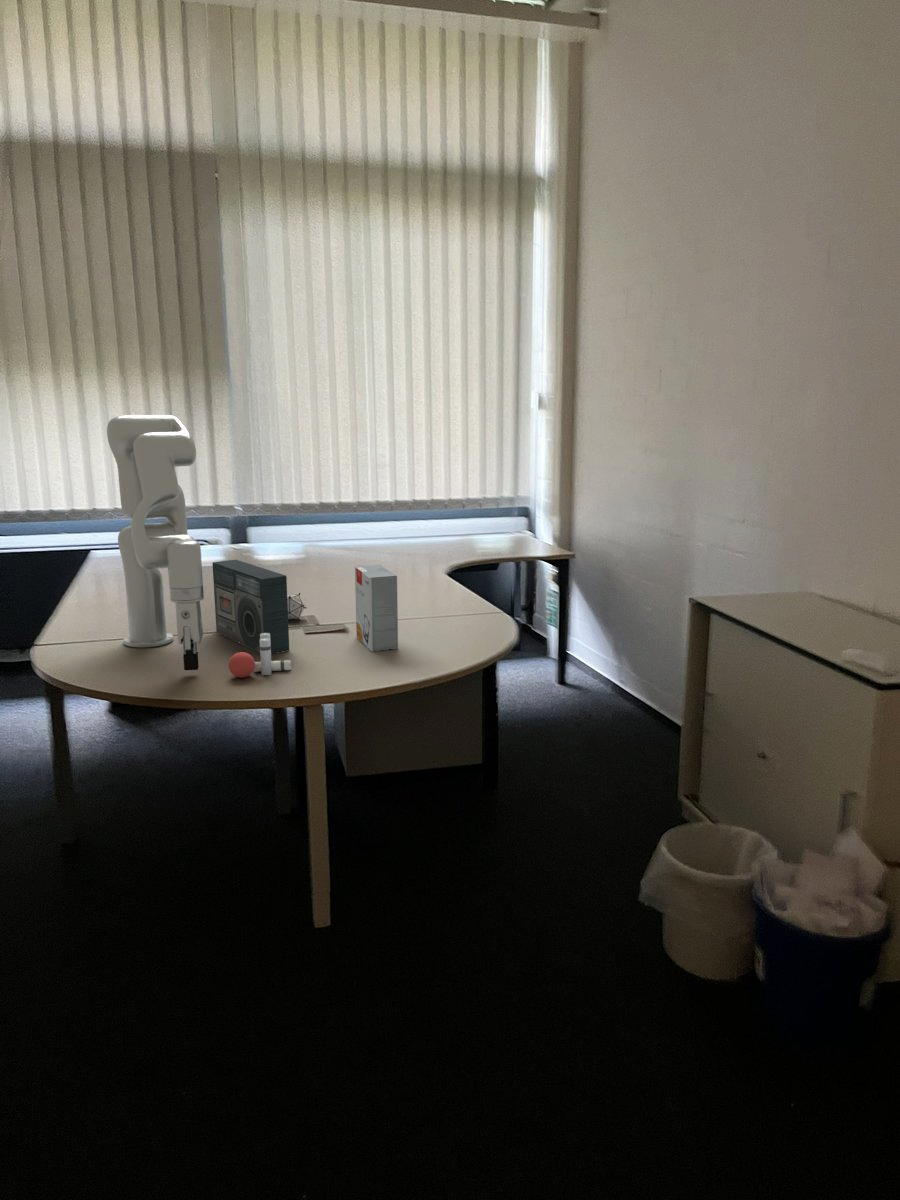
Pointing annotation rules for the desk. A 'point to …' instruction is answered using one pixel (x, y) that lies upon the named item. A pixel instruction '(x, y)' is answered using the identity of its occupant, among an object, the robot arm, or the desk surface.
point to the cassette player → (251, 604)
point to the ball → (241, 664)
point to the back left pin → (265, 636)
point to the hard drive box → (376, 607)
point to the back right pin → (265, 656)
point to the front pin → (275, 665)
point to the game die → (294, 606)
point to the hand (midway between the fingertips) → (191, 669)
